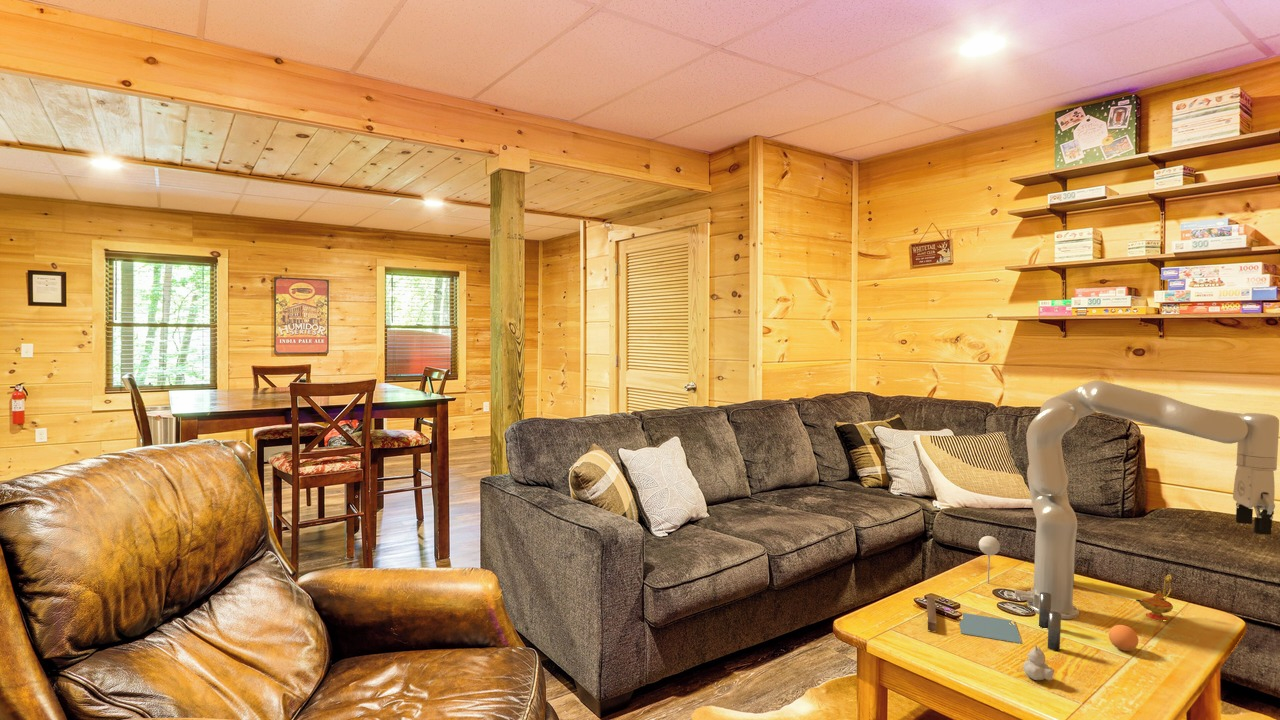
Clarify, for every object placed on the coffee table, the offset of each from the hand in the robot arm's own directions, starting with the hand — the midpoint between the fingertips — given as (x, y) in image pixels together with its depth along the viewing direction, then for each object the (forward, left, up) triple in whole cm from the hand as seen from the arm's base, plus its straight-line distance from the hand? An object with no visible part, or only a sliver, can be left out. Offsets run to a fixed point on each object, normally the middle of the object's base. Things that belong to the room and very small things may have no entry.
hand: (1252, 528), depth 169 cm
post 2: (-47, -25, -30) cm, 61 cm away
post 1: (-47, -12, -30) cm, 57 cm away
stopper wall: (-75, -18, -30) cm, 83 cm away
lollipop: (-58, +17, -30) cm, 67 cm away
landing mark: (-61, -18, -30) cm, 70 cm away
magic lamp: (-18, +7, -30) cm, 35 cm away
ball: (-31, -18, -27) cm, 45 cm away
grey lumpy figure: (-53, -43, -30) cm, 74 cm away
